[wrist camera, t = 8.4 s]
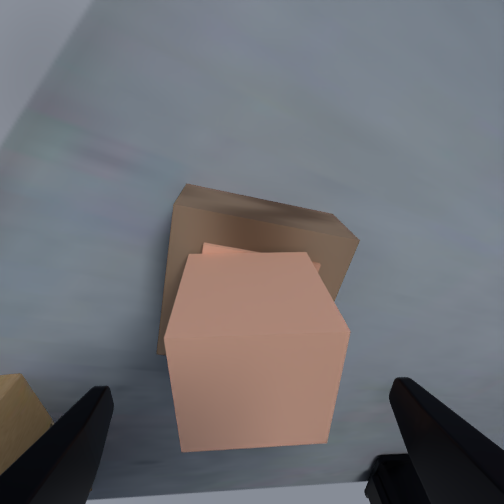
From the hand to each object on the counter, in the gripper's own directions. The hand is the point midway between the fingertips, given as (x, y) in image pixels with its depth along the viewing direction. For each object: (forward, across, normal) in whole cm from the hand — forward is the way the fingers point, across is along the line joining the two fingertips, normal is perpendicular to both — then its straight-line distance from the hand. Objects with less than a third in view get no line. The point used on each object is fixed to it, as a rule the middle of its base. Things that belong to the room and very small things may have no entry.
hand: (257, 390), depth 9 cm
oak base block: (+9, 0, 0) cm, 9 cm away
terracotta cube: (+5, 0, 0) cm, 5 cm away
